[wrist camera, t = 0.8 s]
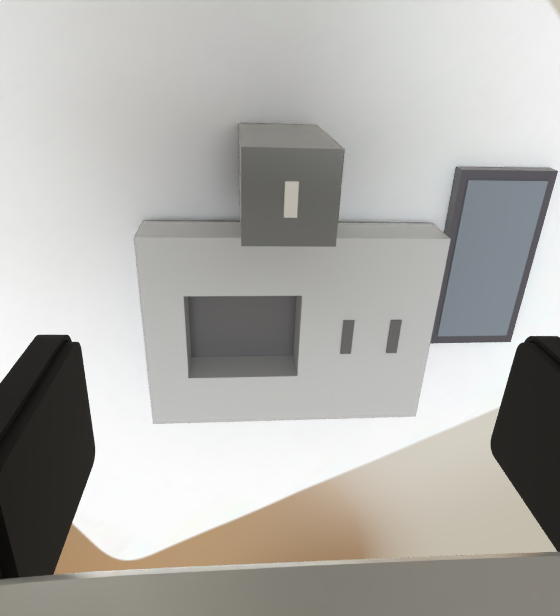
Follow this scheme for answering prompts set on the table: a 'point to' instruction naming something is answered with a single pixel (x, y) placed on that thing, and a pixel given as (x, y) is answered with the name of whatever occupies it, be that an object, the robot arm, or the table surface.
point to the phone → (490, 250)
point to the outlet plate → (287, 321)
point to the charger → (288, 185)
